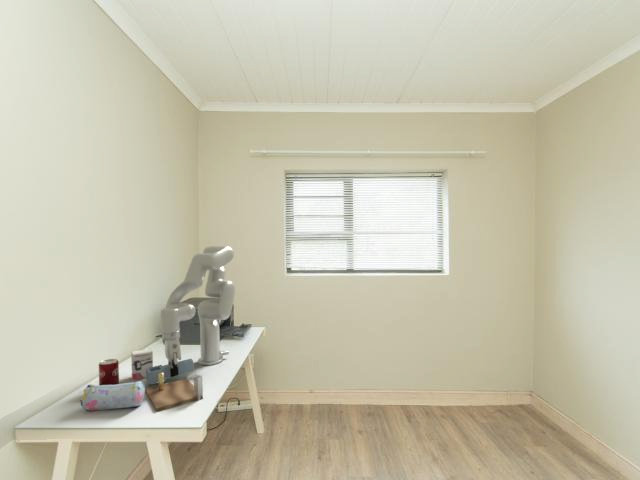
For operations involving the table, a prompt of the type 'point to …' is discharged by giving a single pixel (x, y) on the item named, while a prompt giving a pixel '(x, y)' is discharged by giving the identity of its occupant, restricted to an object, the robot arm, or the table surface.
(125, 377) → the table surface
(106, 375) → the soda can
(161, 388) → the peg
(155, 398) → the board
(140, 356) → the ink box
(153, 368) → the link
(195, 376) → the plate
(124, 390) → the pencil case
